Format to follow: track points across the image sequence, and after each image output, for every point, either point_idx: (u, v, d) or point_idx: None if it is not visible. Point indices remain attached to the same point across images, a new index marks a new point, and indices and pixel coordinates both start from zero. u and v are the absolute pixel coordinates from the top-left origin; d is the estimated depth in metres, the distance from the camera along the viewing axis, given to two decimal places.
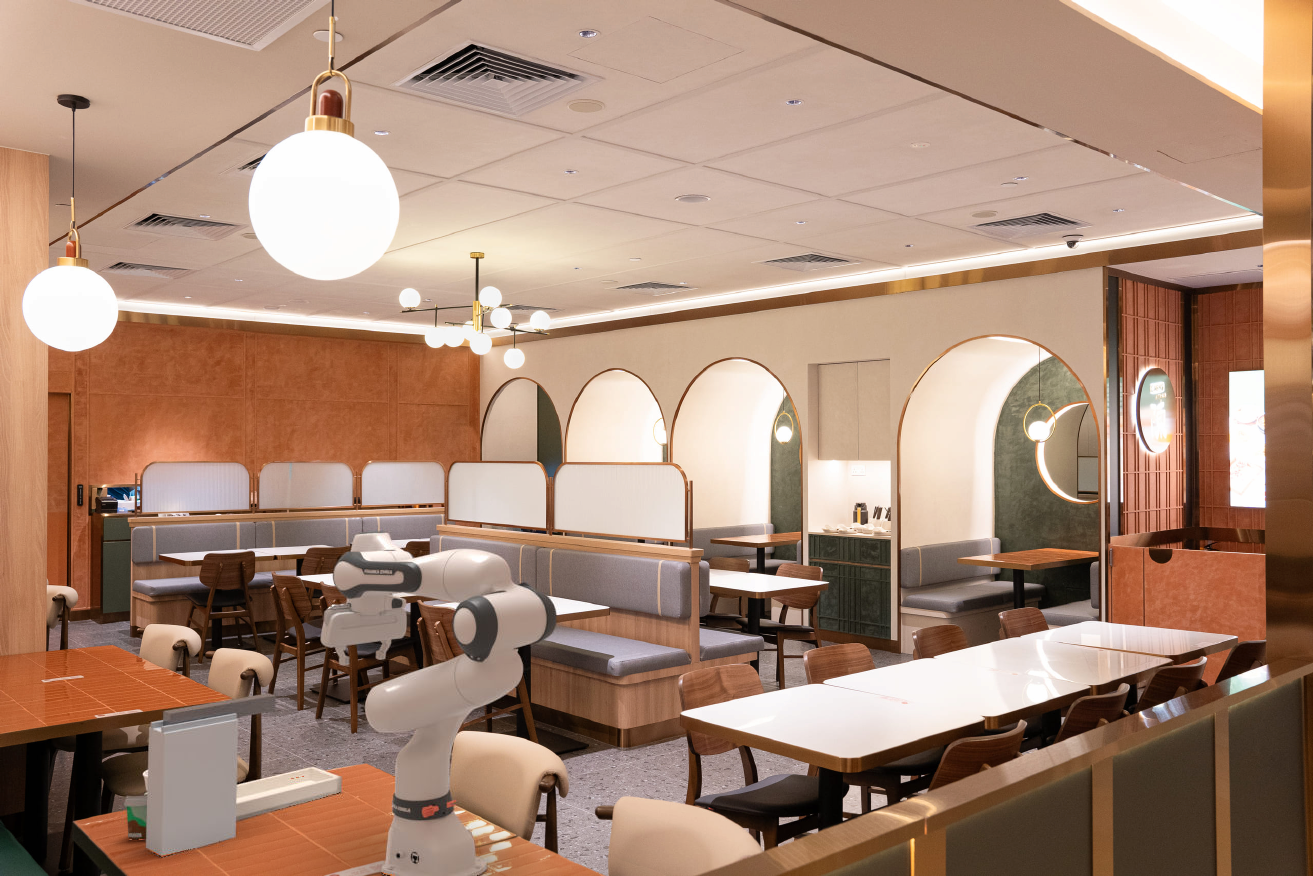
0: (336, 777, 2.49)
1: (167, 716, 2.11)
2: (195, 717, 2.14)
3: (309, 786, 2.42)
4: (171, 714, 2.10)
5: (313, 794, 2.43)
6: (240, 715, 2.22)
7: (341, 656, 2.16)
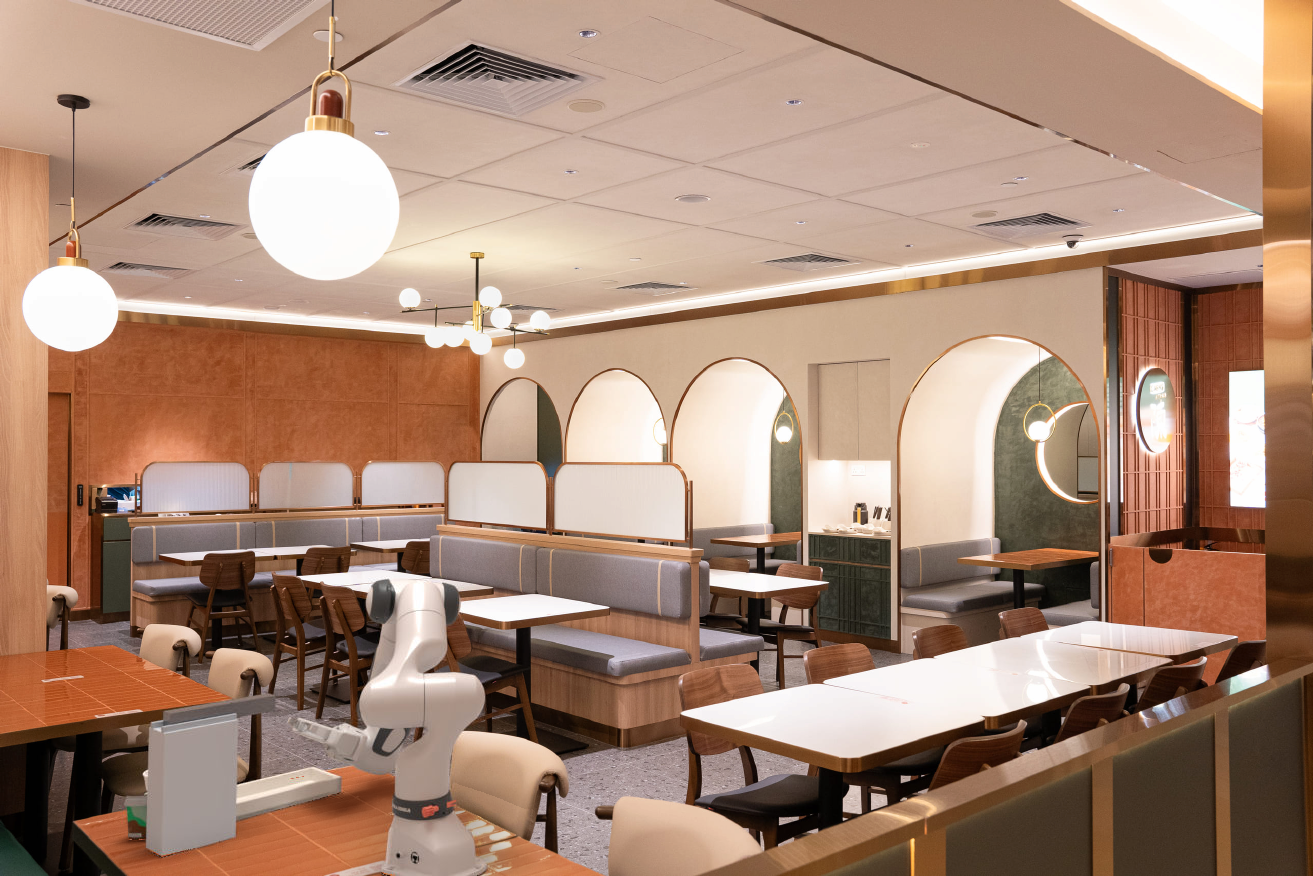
0: (336, 777, 2.49)
1: (167, 716, 2.11)
2: (195, 717, 2.14)
3: (309, 786, 2.42)
4: (171, 714, 2.10)
5: (313, 794, 2.43)
6: (240, 715, 2.22)
7: None
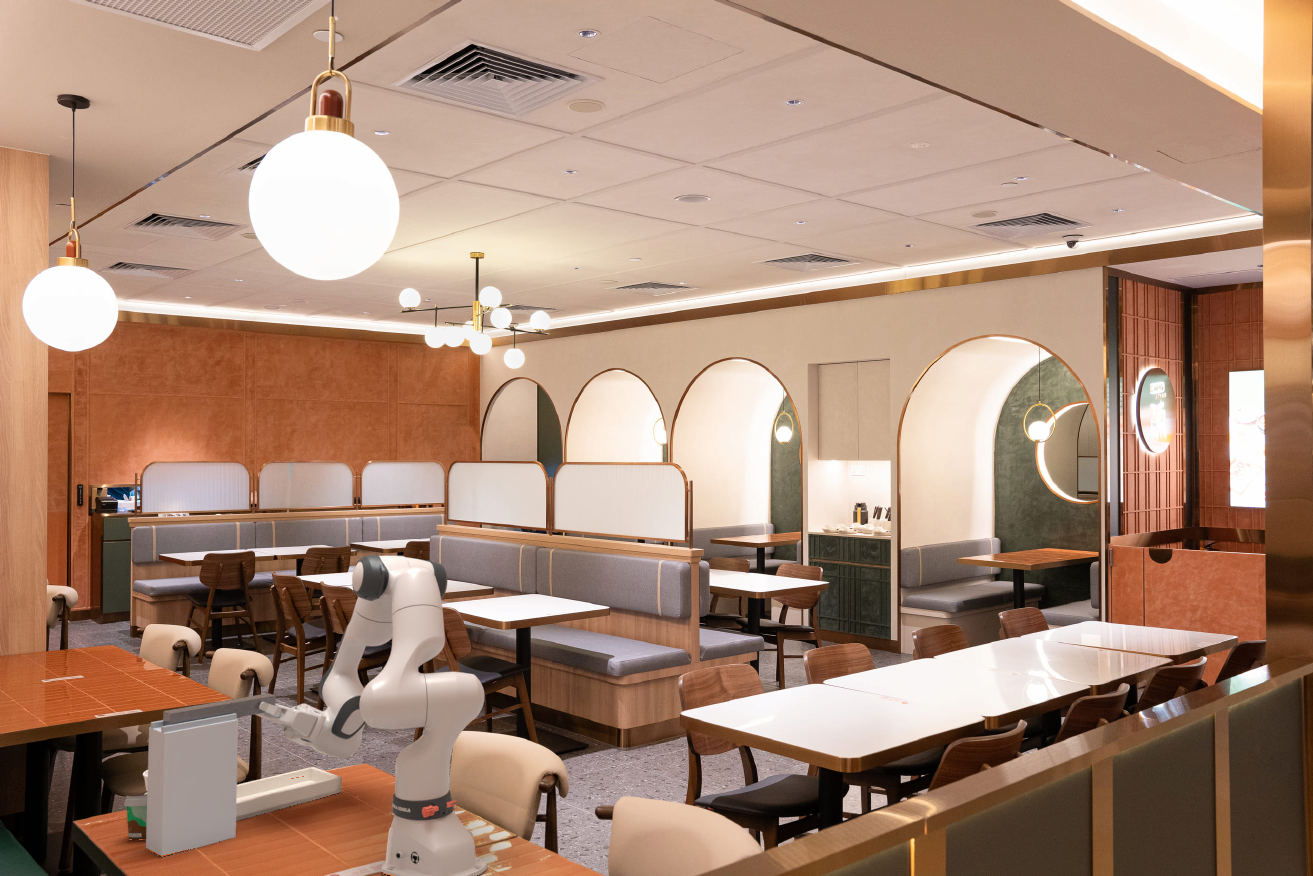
0: (336, 777, 2.49)
1: (167, 716, 2.11)
2: (195, 717, 2.14)
3: (309, 786, 2.42)
4: (171, 714, 2.10)
5: (313, 794, 2.43)
6: (240, 715, 2.22)
7: None
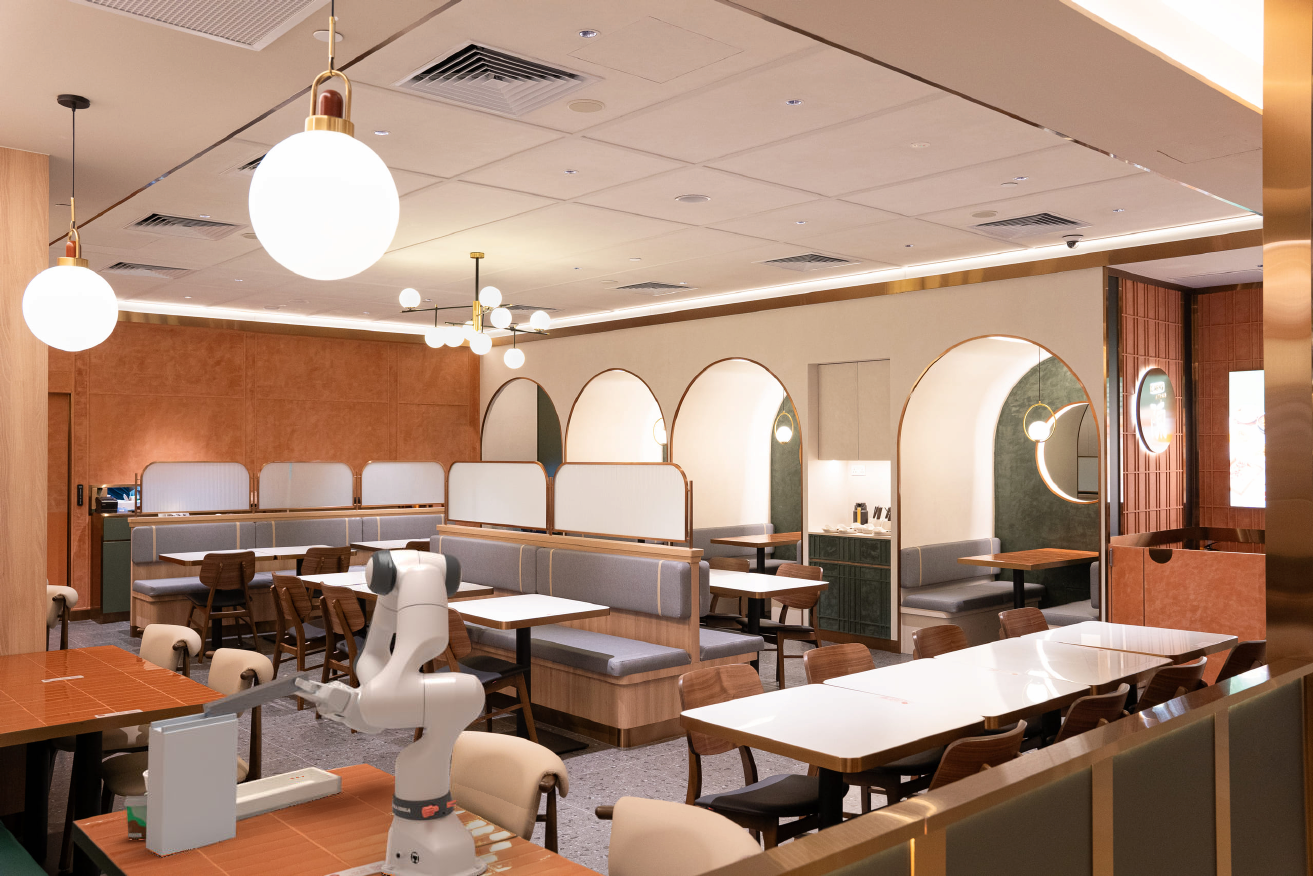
0: (336, 777, 2.49)
1: (208, 709, 2.17)
2: (235, 706, 2.21)
3: (309, 786, 2.42)
4: (211, 707, 2.17)
5: (313, 794, 2.43)
6: (277, 697, 2.28)
7: None
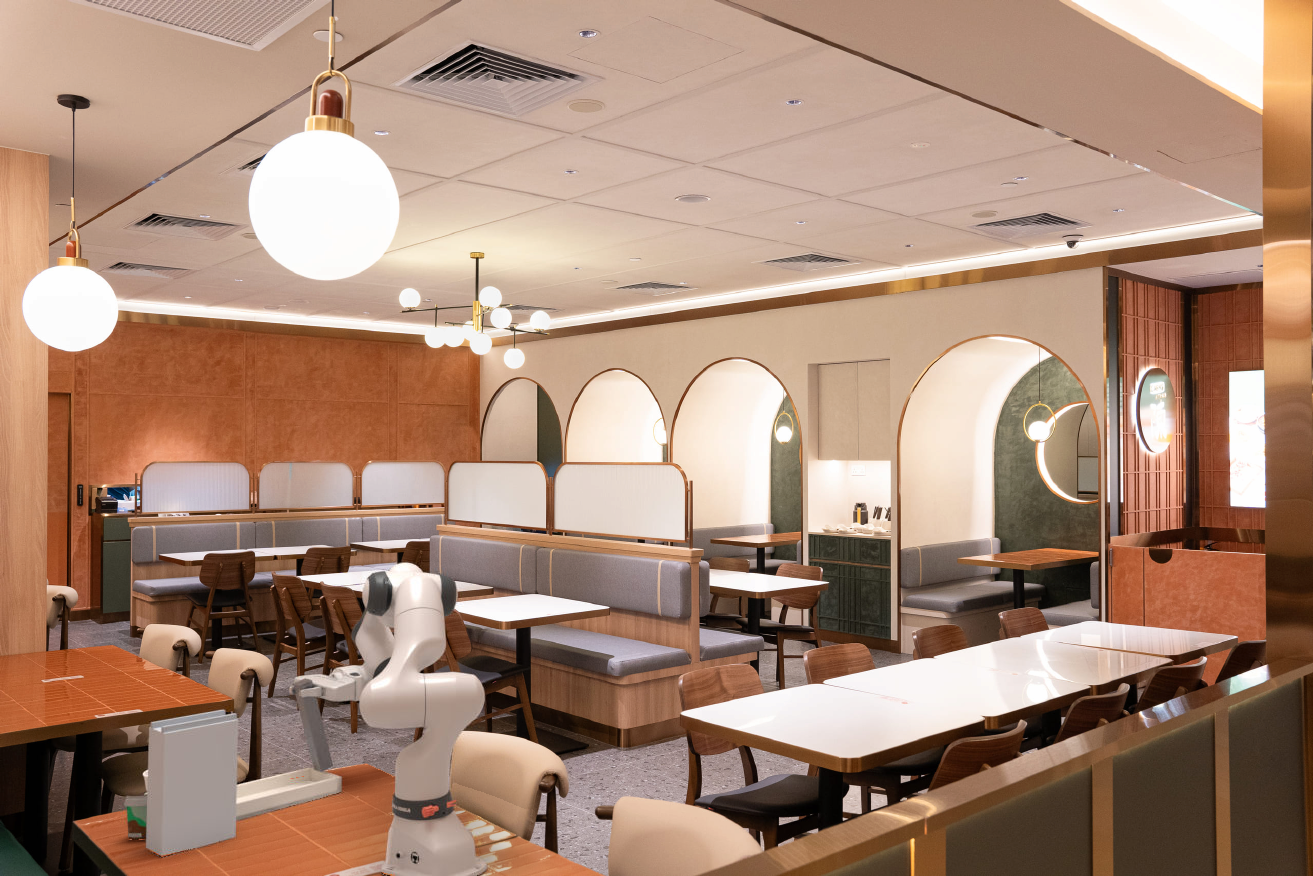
0: (336, 777, 2.49)
1: None
2: (322, 749, 2.51)
3: (309, 786, 2.42)
4: (321, 771, 2.50)
5: (313, 794, 2.43)
6: (318, 711, 2.50)
7: None
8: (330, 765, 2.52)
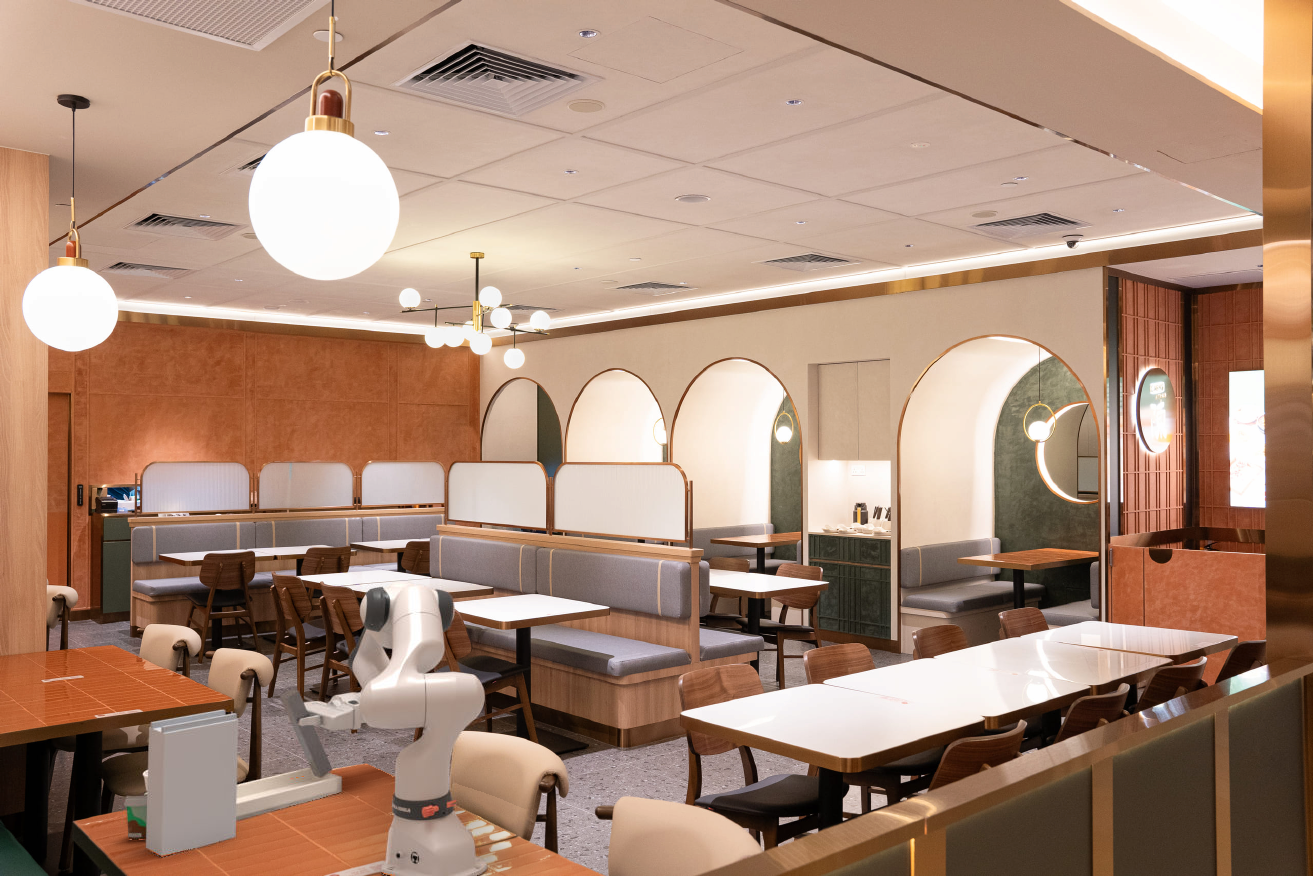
0: (336, 777, 2.49)
1: None
2: (319, 756, 2.50)
3: (309, 786, 2.42)
4: (321, 776, 2.50)
5: (313, 794, 2.43)
6: None
7: None
8: (329, 769, 2.52)
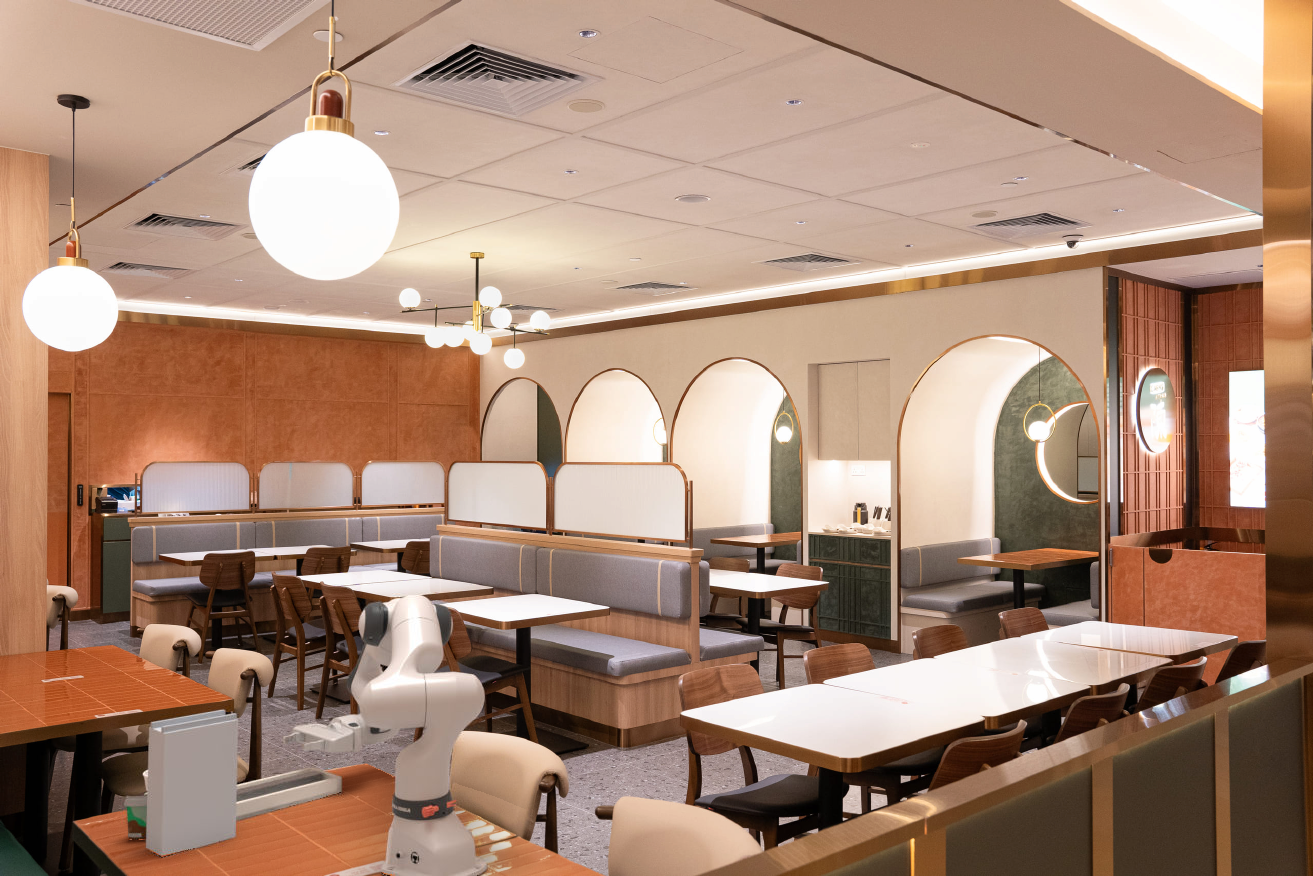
0: (336, 777, 2.49)
1: None
2: (302, 784, 2.46)
3: (309, 786, 2.42)
4: None
5: (313, 794, 2.43)
6: (264, 789, 2.39)
7: None
8: (320, 776, 2.50)
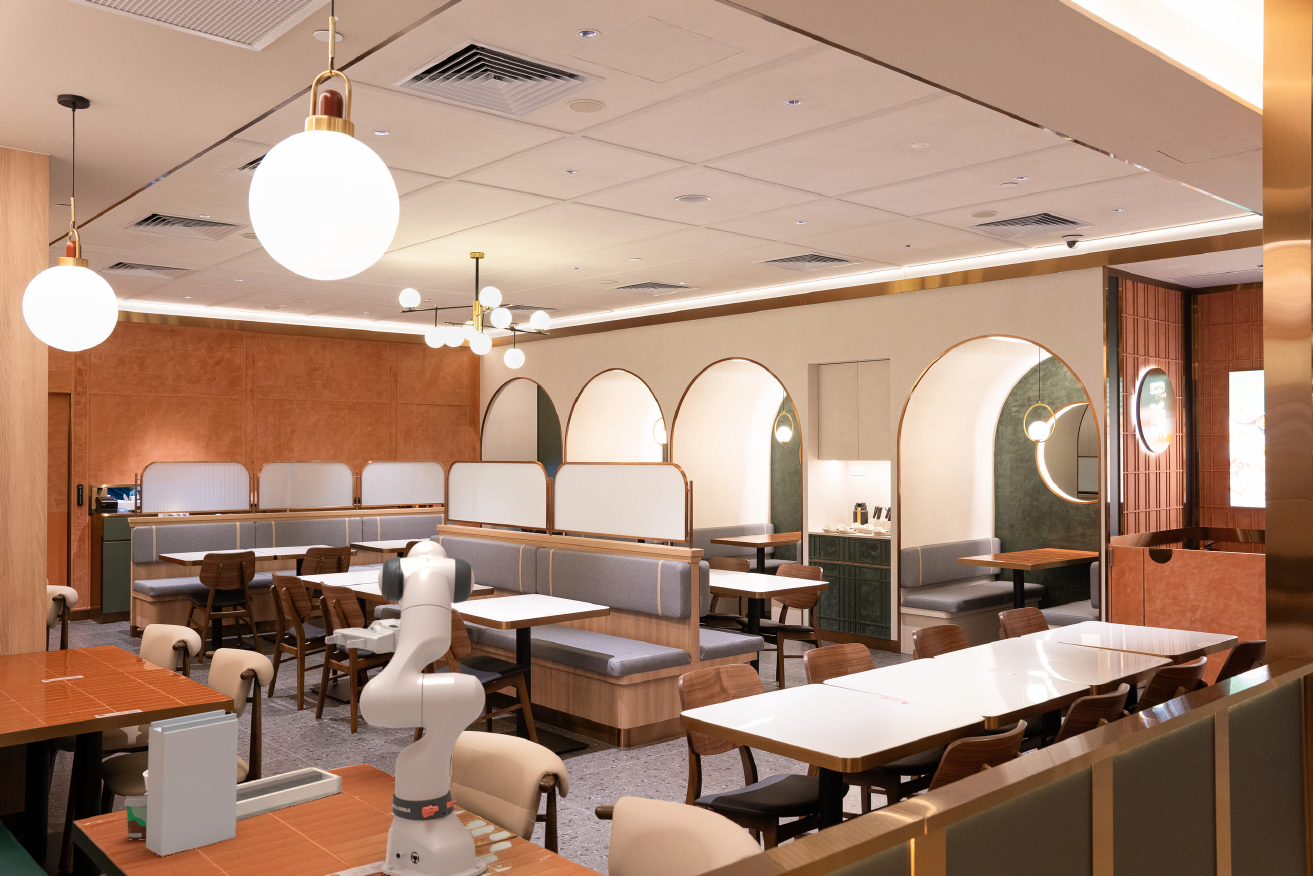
0: (336, 777, 2.49)
1: None
2: (302, 784, 2.46)
3: (309, 786, 2.42)
4: None
5: (313, 794, 2.43)
6: (264, 789, 2.39)
7: None
8: (320, 776, 2.50)
